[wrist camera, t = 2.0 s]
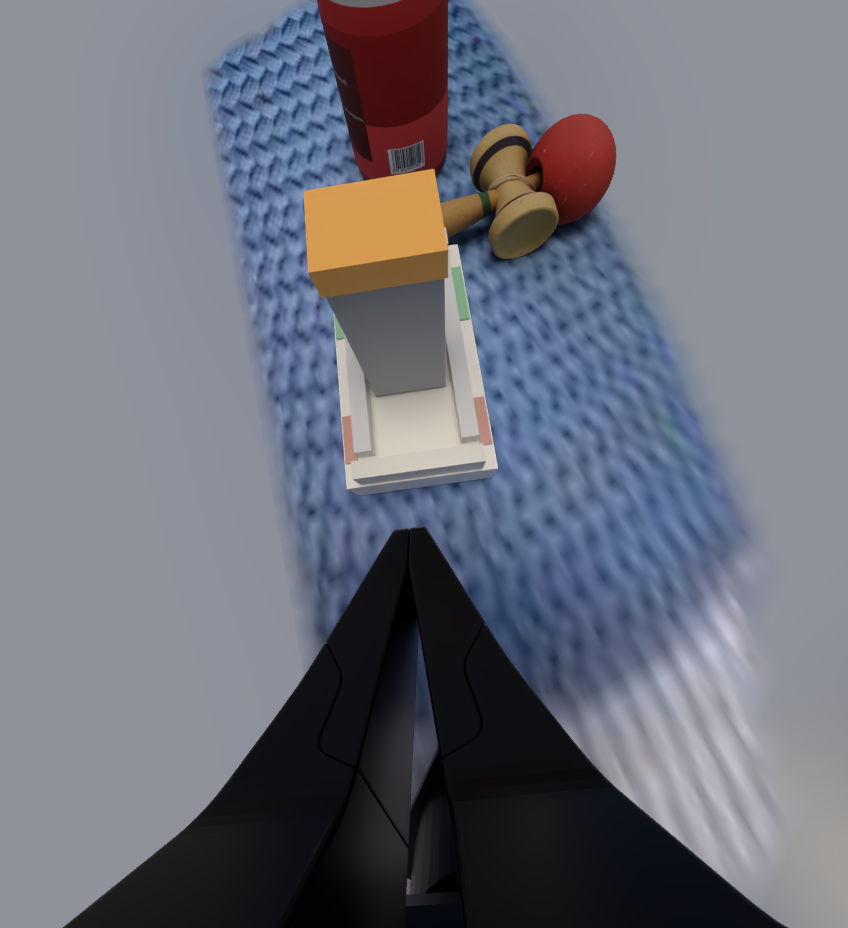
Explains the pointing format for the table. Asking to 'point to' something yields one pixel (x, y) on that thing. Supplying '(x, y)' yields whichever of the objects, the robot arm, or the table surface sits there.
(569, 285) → the table surface
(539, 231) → the kendama
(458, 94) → the table surface
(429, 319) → the handle
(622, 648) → the table surface
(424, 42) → the canned food
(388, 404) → the railed base plate
